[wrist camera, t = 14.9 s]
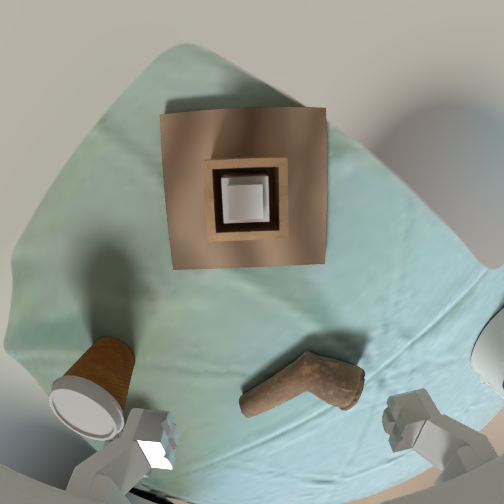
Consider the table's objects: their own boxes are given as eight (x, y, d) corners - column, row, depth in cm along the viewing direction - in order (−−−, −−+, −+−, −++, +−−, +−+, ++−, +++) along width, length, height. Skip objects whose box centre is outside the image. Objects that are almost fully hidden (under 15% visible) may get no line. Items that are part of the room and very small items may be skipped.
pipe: (226, 415, 36) (275, 455, 37) (335, 347, 32) (379, 396, 33) (233, 387, 42) (277, 426, 43) (328, 322, 39) (368, 369, 40)
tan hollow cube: (279, 155, 29) (287, 157, 23) (280, 221, 31) (288, 238, 25) (210, 158, 29) (202, 160, 23) (214, 223, 31) (207, 241, 25)
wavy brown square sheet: (322, 109, 29) (348, 98, 21) (321, 258, 34) (343, 293, 26) (163, 116, 29) (135, 107, 21) (176, 264, 34) (156, 300, 26)
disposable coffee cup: (157, 376, 39) (136, 442, 28) (105, 383, 40) (77, 442, 29) (125, 319, 36) (89, 382, 25) (72, 332, 37) (31, 387, 26)
